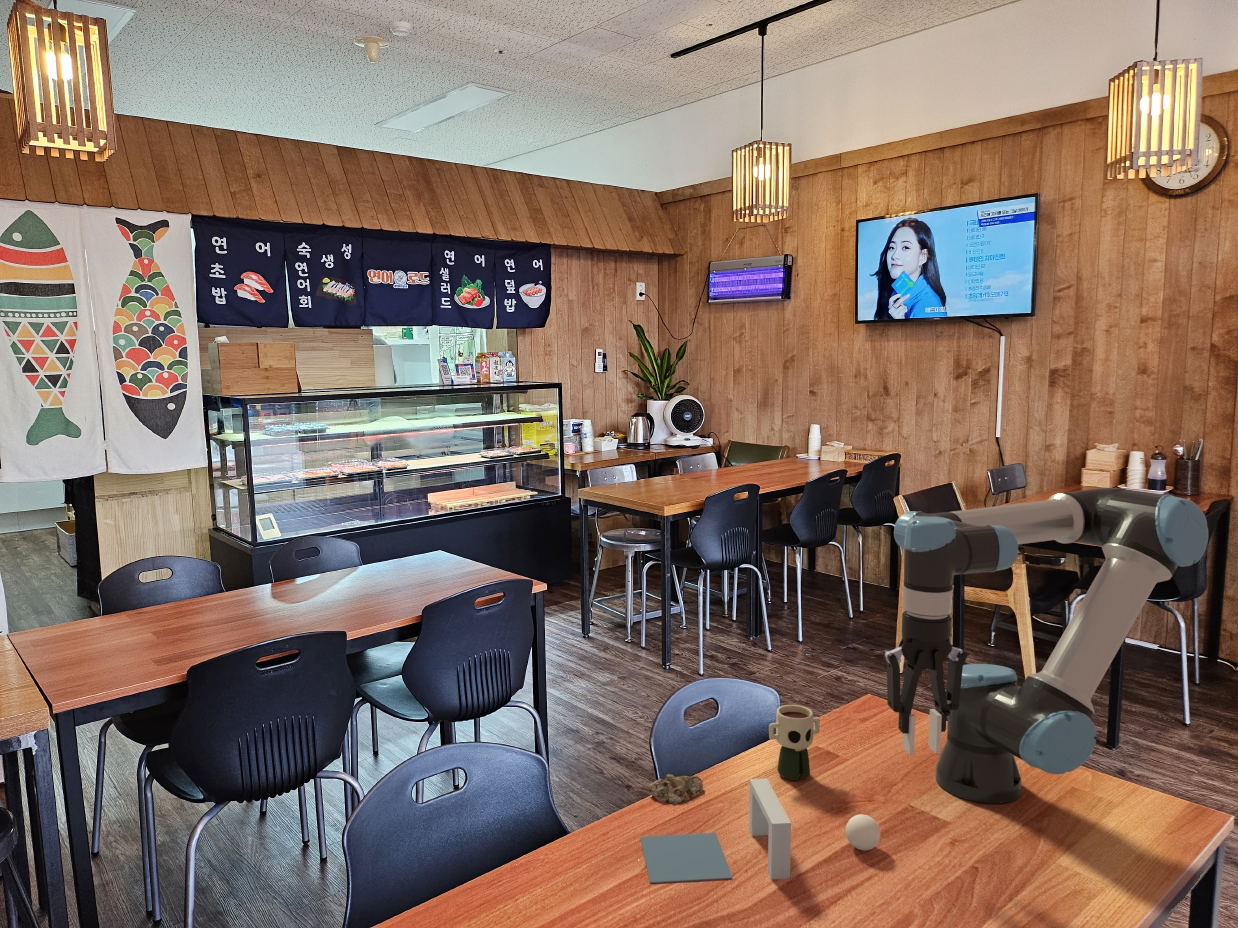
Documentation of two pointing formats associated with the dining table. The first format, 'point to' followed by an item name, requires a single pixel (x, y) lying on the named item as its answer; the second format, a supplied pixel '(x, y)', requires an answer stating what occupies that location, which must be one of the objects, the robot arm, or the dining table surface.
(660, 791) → the mineral rock
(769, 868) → the bridge
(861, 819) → the ball
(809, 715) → the character mug
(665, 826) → the dining table surface
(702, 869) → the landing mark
